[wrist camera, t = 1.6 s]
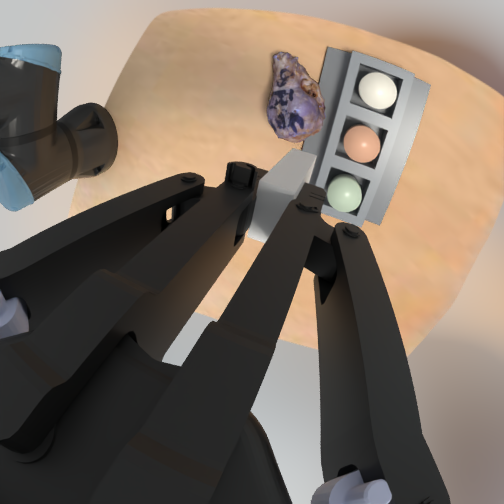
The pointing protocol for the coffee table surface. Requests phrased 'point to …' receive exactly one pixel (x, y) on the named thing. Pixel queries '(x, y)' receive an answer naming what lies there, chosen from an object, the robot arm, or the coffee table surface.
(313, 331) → the coffee table surface
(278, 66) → the purple lumpy piece
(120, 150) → the coffee table surface
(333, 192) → the button sage
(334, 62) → the button panel
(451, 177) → the coffee table surface
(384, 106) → the button cream
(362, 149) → the button terracotta
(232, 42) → the coffee table surface
